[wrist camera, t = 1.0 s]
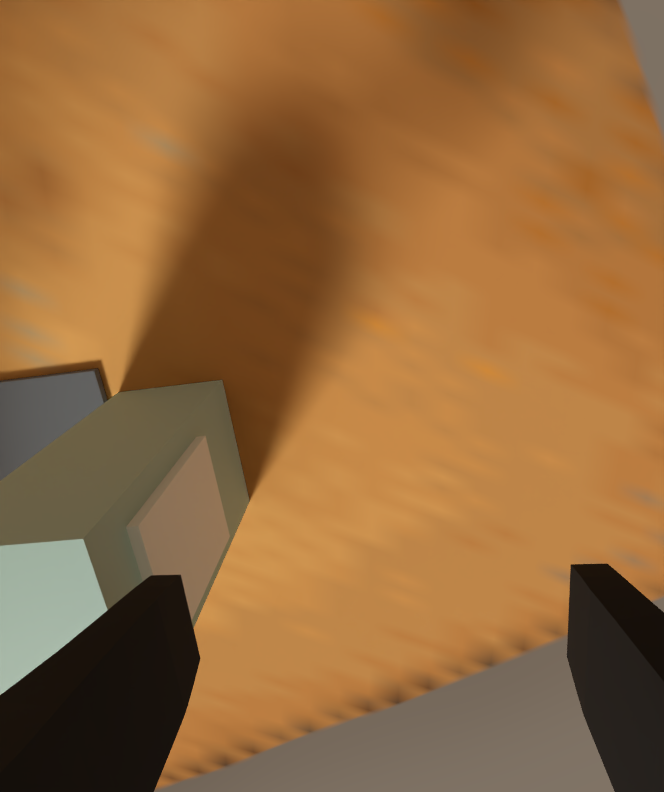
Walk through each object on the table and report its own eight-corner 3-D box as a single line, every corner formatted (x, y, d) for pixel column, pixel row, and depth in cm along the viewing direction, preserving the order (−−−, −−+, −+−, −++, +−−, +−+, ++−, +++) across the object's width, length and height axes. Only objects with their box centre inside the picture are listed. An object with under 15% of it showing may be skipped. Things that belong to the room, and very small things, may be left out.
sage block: (152, 510, 23) (-14, 734, 13) (118, 392, 21) (-98, 554, 12) (257, 500, 22) (161, 729, 13) (230, 378, 20) (97, 537, 11)
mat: (-73, 551, 24) (-78, 555, 24) (-141, 398, 22) (-148, 401, 22) (146, 532, 23) (144, 536, 23) (98, 368, 21) (94, 370, 20)
